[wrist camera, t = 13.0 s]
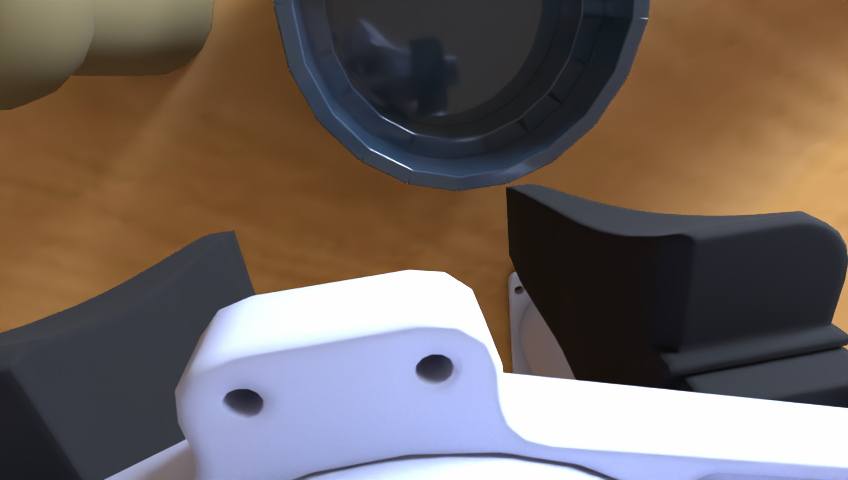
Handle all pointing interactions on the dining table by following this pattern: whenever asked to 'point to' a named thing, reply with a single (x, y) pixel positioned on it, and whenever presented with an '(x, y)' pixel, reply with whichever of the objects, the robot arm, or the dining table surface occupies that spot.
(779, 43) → the dining table surface
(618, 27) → the blue bowl
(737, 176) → the dining table surface
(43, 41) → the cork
